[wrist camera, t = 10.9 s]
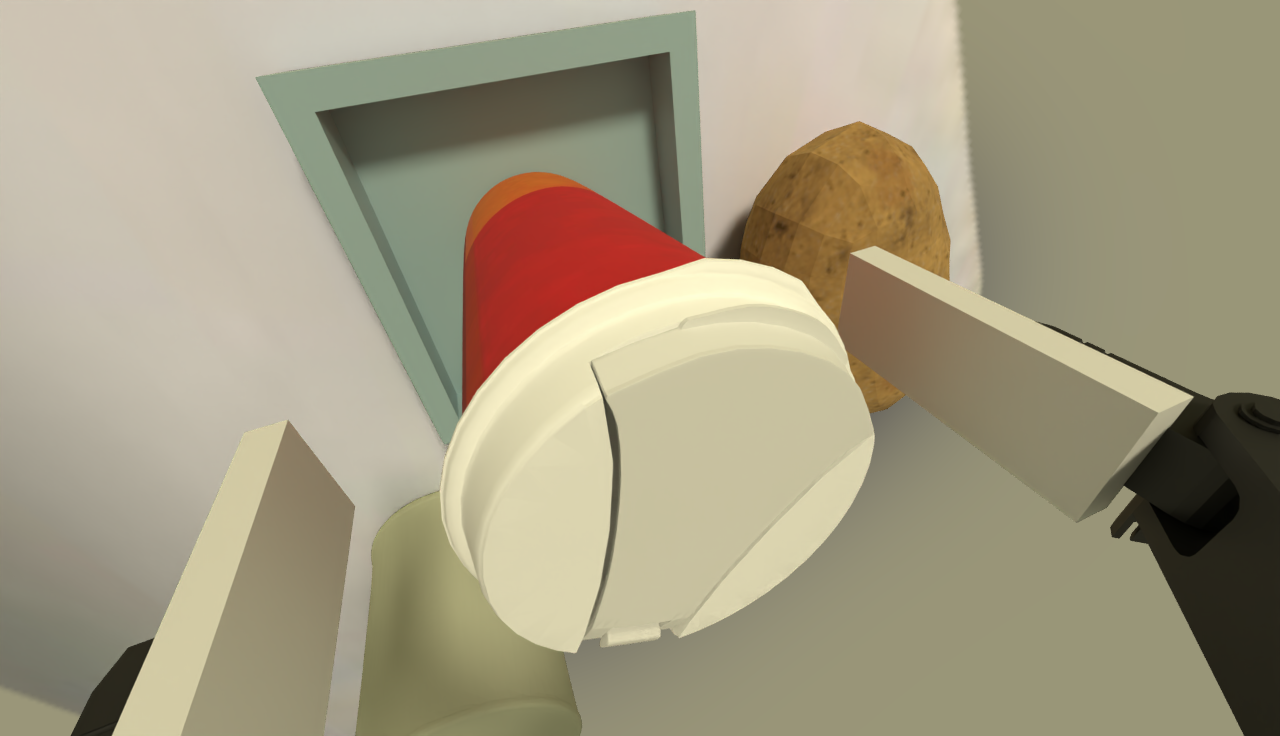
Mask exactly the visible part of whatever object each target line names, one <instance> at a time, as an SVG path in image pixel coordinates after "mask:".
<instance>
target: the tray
mask: <svg viewBox="0 0 1280 736" xmlns="http://www.w3.org/2000/svg"><path fill="white" fill-rule="evenodd" d="M255 78H256V80H257V82H258V84H259V86H260V87H261V89H262V91H263V93H264V95H265V97H266V99H267V101H268V103H269V105H270V107H271V109H272V111H273V113H274V115H275V117H276V119H277V121H278V122H279V124H280V126H281V128H282V130H283V132H284V134H285V136H286V138H287V140H288V142H289V144H290V146H291V148H292V150H293V152H294V154H295V156H296V157H297V159H298V161H299V163H300V165H301V167H302V169H303V171H304V173H305V175H306V177H307V179H308V181H309V183H310V185H311V187H312V189H313V191H314V192H315V194H316V196H317V198H318V200H319V202H320V204H321V206H322V208H323V210H324V212H325V214H326V216H327V218H328V220H329V222H330V224H331V226H332V227H333V229H334V231H335V233H336V235H337V237H338V239H339V241H340V243H341V245H342V247H343V249H344V251H345V253H346V255H347V257H348V259H349V261H350V262H351V264H352V266H353V268H354V270H355V272H356V274H357V276H358V278H359V280H360V282H361V284H362V286H363V288H364V290H365V292H366V294H367V296H368V297H369V299H370V301H371V303H372V305H373V307H374V309H375V311H376V313H377V315H378V317H379V319H380V321H381V323H382V325H383V327H384V329H385V331H386V332H387V334H388V336H389V338H390V340H391V342H392V344H393V346H394V348H395V350H396V352H397V354H398V356H399V358H400V360H401V362H402V364H403V366H404V367H405V369H406V371H407V373H408V375H409V377H410V379H411V381H412V383H413V385H414V387H415V389H416V391H417V393H418V395H419V397H420V399H421V400H422V402H423V404H424V406H425V408H426V410H427V412H428V414H429V416H430V418H431V420H432V422H433V424H434V426H435V428H436V430H437V432H438V434H439V435H440V437H441V439H442V441H443V443H444V444H448V443H450V441H451V438H452V436H453V433H454V431H455V428H456V425H457V423H458V421H459V420H460V418H461V416H462V325H463V262H464V244H465V236H466V231H467V226H468V222H469V220H470V217H471V215H472V213H473V210H474V209H475V207H476V205H477V204H478V203H479V201H480V200H481V199H482V197H483V196H484V195H485V194H486V193H487V192H488V191H489V190H490V189H491V188H493V187H494V186H495V185H497V184H498V183H500V182H502V181H503V180H505V179H508V178H510V177H512V176H515V175H519V174H523V173H530V172H547V173H553V174H557V175H561V176H564V177H566V178H569V179H571V180H574V181H576V182H578V183H580V184H581V185H583V186H585V187H587V188H589V189H591V190H593V191H594V192H596V193H598V194H600V195H601V196H603V197H605V198H607V199H608V200H610V201H612V202H613V203H615V204H617V205H618V206H620V207H622V208H624V209H625V210H627V211H629V212H630V213H632V214H634V215H635V216H637V217H639V218H640V219H642V220H644V221H645V222H647V223H649V224H650V225H652V226H654V227H655V228H657V229H659V230H660V231H662V232H664V233H665V234H667V235H669V236H670V237H672V238H674V239H675V240H677V241H679V242H680V243H682V244H684V245H685V246H687V247H689V248H690V249H692V250H694V251H695V252H697V253H699V254H700V255H702V256H704V257H705V233H704V209H703V184H702V160H701V135H700V111H699V86H698V62H697V37H696V13H695V10H694V11H686V12H679V13H671V14H663V15H657V16H650V17H643V18H637V19H630V20H624V21H617V22H610V23H604V24H597V25H591V26H584V27H577V28H571V29H564V30H558V31H551V32H544V33H538V34H531V35H525V36H518V37H512V38H505V39H498V40H492V41H485V42H479V43H472V44H465V45H459V46H452V47H446V48H439V49H432V50H426V51H419V52H413V53H406V54H400V55H393V56H386V57H380V58H373V59H367V60H360V61H353V62H347V63H340V64H334V65H327V66H320V67H314V68H307V69H301V70H294V71H287V72H281V73H275V74H270V75H265V76H260V77H255Z"/></svg>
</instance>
